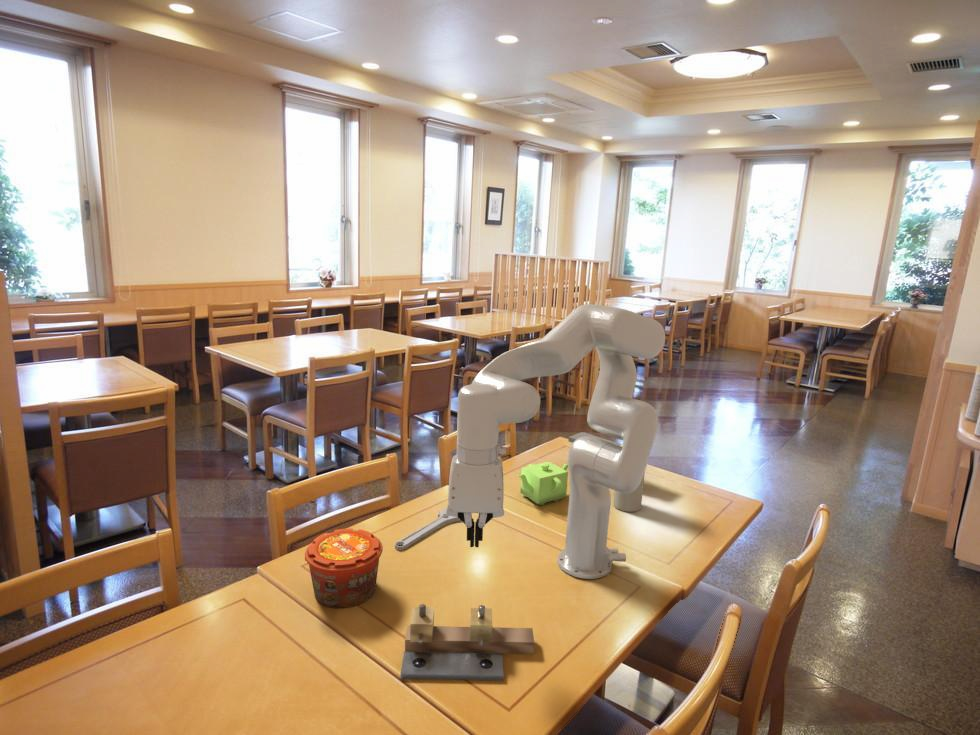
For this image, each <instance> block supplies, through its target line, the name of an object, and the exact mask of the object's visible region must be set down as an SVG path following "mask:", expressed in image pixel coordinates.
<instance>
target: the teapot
mask: <svg viewBox="0 0 980 735" xmlns="http://www.w3.org/2000/svg"><path fill="white" fill-rule="evenodd" d="M567 469H569V468H568V462H566V463H564V464H563V466H562V467H560V466H558V465H556V464H555V463H552V462H551V461H545V462H540V463H536V464H534V463H529V464H528V465H527V466H522V467H521V471H520V472H521V473H518V474H516V476H517V477H519V478H520V491H519V492H520V494H522V495H523V496H525V497H527V498H528V499H529V500H531V501H532V502H533V503H535V504H536V505H540V506H544V505H545V504H546V503H548V502H552V501H553V502H558V501H559V499H560V500H561V499H563V498H566V497H567V489H568V479H569V478H568V477H569V471H568V470H567Z"/></svg>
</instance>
